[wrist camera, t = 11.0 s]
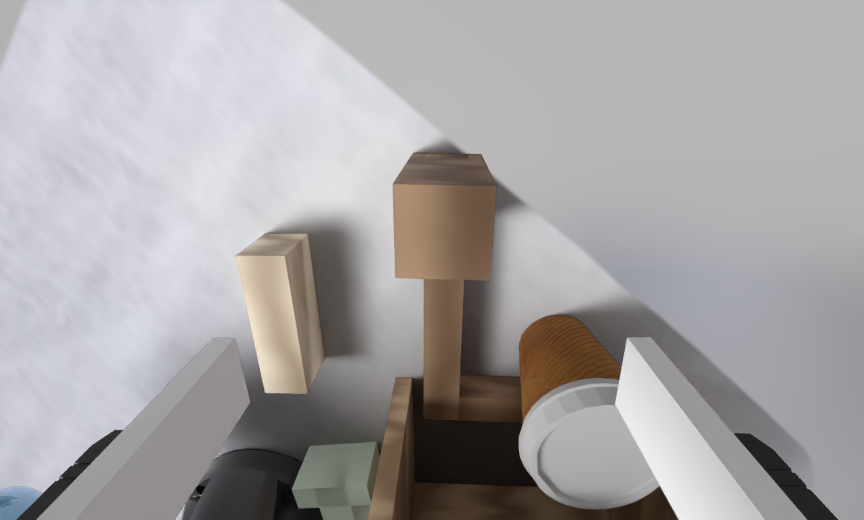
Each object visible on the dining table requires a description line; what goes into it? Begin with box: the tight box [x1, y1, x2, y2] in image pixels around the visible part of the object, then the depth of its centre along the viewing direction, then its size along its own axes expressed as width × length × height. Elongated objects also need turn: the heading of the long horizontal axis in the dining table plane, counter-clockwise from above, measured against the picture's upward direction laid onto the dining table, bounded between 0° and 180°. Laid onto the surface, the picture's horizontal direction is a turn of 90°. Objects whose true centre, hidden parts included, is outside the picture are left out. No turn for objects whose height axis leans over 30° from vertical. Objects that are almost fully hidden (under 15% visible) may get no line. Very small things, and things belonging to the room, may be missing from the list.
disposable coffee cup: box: [519, 315, 660, 510], centre depth 30 cm, size 10×10×12 cm
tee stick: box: [292, 442, 380, 520], centre depth 41 cm, size 7×10×5 cm
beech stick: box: [236, 234, 325, 394], centre depth 33 cm, size 4×12×5 cm, turn 1°
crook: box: [393, 153, 523, 423], centre depth 29 cm, size 16×22×11 cm
